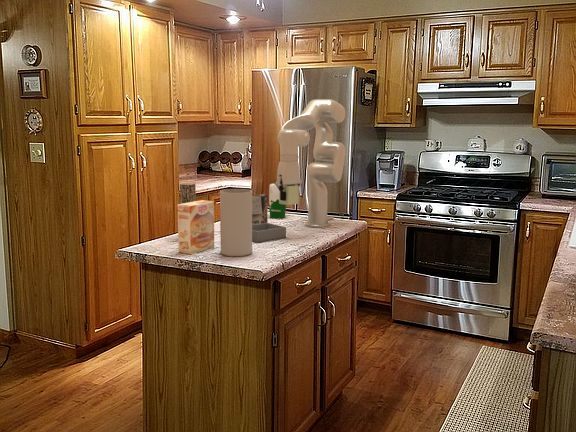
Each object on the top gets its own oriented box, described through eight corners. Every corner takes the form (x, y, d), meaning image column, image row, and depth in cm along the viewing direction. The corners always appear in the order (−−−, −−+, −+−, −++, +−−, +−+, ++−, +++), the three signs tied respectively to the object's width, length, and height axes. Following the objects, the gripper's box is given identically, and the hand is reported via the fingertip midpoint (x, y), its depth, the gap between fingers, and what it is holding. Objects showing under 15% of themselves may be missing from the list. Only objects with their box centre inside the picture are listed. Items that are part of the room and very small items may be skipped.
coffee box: (263, 229, 275) (263, 196, 272) (250, 229, 276) (250, 196, 273) (268, 226, 284) (268, 194, 281) (255, 225, 285) (255, 193, 282)
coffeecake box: (191, 254, 224) (190, 205, 221) (177, 252, 228) (176, 204, 225) (215, 247, 237) (214, 201, 233) (202, 245, 241) (201, 199, 237)
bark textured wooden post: (199, 237, 255) (198, 182, 251) (190, 240, 249) (189, 183, 245) (186, 236, 258) (185, 181, 254) (177, 239, 252) (176, 182, 248)
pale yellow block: (289, 202, 256) (289, 184, 255) (298, 203, 252) (298, 185, 251) (279, 203, 252) (279, 185, 251) (288, 204, 248) (288, 186, 247)
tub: (267, 233, 266) (267, 222, 265) (286, 237, 256) (286, 227, 255) (238, 237, 255) (238, 226, 255) (257, 243, 246) (257, 231, 245)
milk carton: (286, 216, 311) (287, 179, 308) (284, 219, 303) (284, 181, 299) (271, 215, 313) (271, 179, 309) (267, 218, 304) (267, 181, 301)
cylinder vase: (216, 251, 230) (215, 189, 226) (245, 248, 235) (245, 188, 231) (226, 258, 219) (225, 193, 215) (256, 255, 224) (256, 192, 220)
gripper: (297, 157, 257) (296, 197, 260) (268, 159, 246) (268, 200, 249) (309, 158, 252) (308, 198, 255) (280, 160, 240) (279, 202, 243)
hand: (288, 199), depth 252 cm, fingers closed on pale yellow block, 6 cm apart
